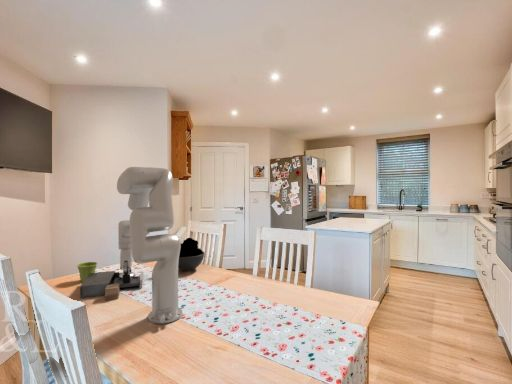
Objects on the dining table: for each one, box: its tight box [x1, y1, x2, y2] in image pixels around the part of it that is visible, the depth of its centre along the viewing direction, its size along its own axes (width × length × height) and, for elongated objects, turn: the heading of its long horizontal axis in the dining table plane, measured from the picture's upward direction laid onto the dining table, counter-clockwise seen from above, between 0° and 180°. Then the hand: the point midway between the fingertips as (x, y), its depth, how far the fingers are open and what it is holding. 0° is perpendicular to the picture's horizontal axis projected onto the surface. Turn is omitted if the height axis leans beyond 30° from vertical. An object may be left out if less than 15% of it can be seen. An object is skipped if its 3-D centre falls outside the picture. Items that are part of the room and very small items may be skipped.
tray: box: [113, 271, 144, 289], centre depth 139 cm, size 14×14×4 cm
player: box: [79, 270, 122, 299], centre depth 135 cm, size 20×15×5 cm
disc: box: [119, 271, 136, 280], centre depth 139 cm, size 7×7×2 cm
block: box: [104, 284, 120, 301], centre depth 124 cm, size 5×5×5 cm
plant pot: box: [76, 261, 99, 283], centre depth 147 cm, size 9×9×9 cm
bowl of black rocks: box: [178, 237, 205, 272], centre depth 165 cm, size 20×20×19 cm
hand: (127, 280), depth 139 cm, fingers closed on disc, 7 cm apart
